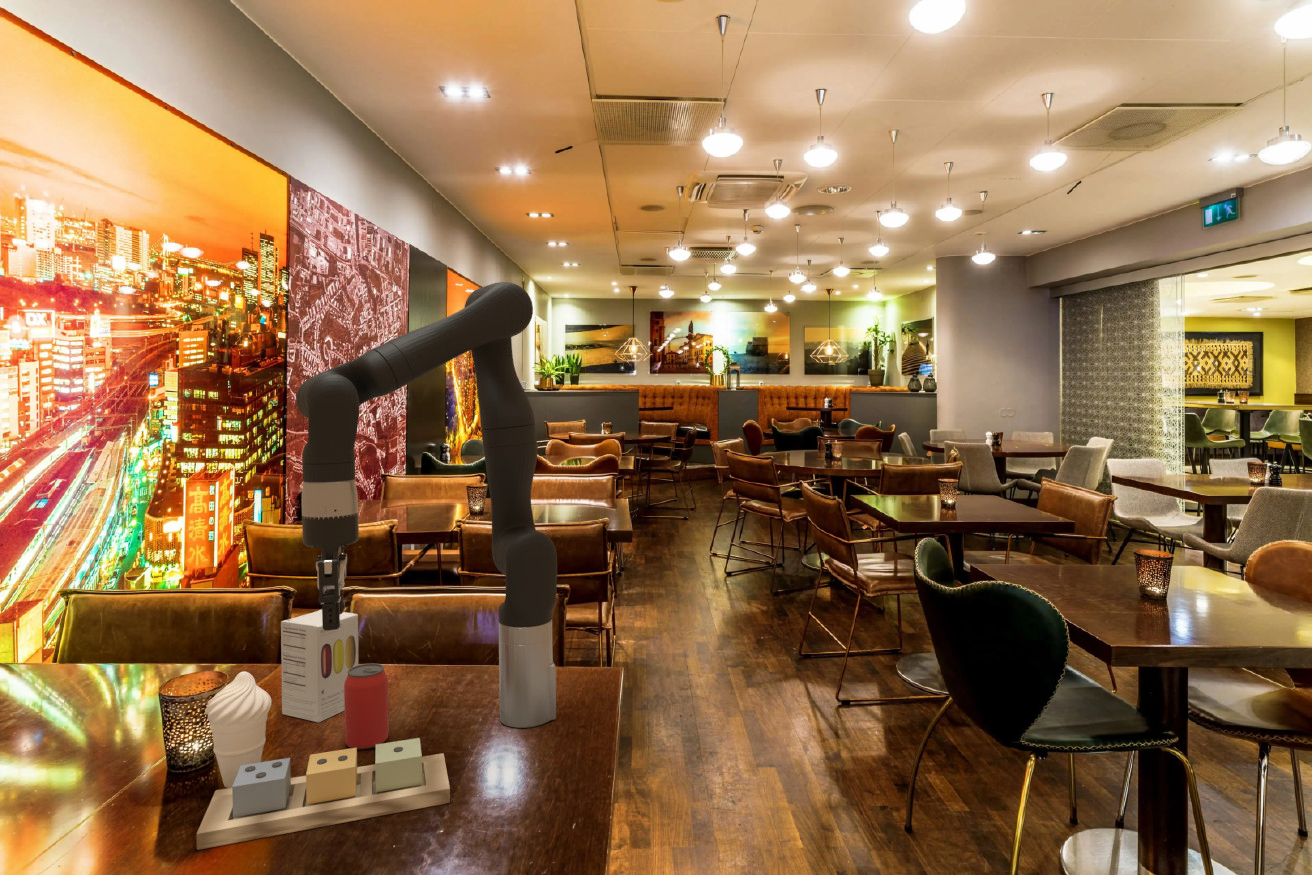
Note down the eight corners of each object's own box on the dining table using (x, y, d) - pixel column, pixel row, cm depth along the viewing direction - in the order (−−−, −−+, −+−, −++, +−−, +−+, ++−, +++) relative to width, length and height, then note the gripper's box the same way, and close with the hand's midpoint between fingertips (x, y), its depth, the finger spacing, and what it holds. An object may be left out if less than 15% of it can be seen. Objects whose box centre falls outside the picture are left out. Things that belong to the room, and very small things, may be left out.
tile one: (420, 764, 106) (419, 736, 106) (422, 784, 101) (421, 754, 101) (376, 771, 104) (375, 743, 104) (375, 792, 99) (375, 761, 98)
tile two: (357, 775, 103) (356, 746, 103) (355, 795, 98) (355, 765, 98) (310, 782, 101) (310, 753, 101) (306, 804, 96) (305, 773, 96)
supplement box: (318, 723, 125) (316, 627, 125) (280, 715, 129) (278, 621, 128) (361, 703, 134) (359, 612, 133) (324, 695, 138) (322, 607, 137)
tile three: (290, 786, 100) (290, 756, 100) (285, 808, 95) (284, 776, 95) (241, 794, 98) (240, 763, 98) (232, 817, 93) (232, 785, 92)
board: (443, 766, 110) (443, 753, 110) (450, 802, 100) (449, 788, 100) (216, 804, 99) (215, 790, 99) (196, 849, 89) (196, 833, 89)
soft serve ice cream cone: (226, 802, 100) (223, 687, 99) (195, 785, 104) (192, 676, 104) (284, 776, 107) (282, 669, 107) (253, 762, 112) (251, 659, 111)
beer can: (373, 752, 114) (372, 677, 114) (336, 749, 116) (334, 674, 115) (396, 734, 121) (395, 663, 120) (361, 731, 122) (359, 660, 122)
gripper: (356, 516, 101) (359, 632, 102) (359, 504, 114) (362, 606, 115) (296, 519, 98) (299, 638, 99) (307, 506, 112) (310, 611, 112)
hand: (333, 621), depth 107 cm, fingers open, 8 cm apart
